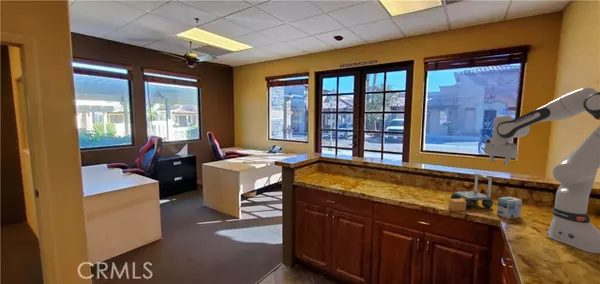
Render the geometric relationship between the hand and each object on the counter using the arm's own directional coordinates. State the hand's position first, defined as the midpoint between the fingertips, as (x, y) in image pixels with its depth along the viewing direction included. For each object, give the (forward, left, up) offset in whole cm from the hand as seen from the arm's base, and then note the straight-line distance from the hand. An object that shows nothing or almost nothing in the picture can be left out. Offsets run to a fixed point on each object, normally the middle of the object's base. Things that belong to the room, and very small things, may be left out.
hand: (499, 163), depth 164 cm
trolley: (+9, +9, -30) cm, 33 cm away
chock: (+3, +24, -30) cm, 39 cm away
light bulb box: (-10, 0, -31) cm, 32 cm away
